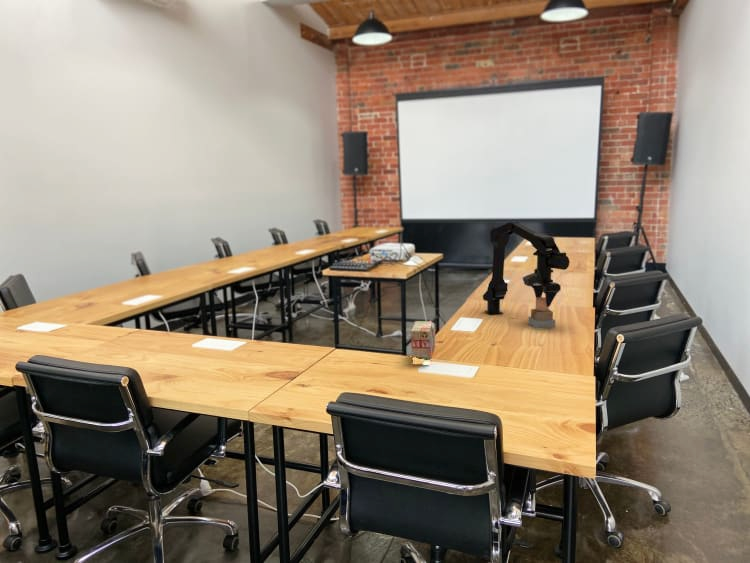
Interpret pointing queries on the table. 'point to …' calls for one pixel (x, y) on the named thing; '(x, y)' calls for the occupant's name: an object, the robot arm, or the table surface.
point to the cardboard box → (423, 340)
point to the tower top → (541, 315)
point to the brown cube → (541, 304)
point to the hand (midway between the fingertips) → (543, 304)
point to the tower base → (541, 323)
